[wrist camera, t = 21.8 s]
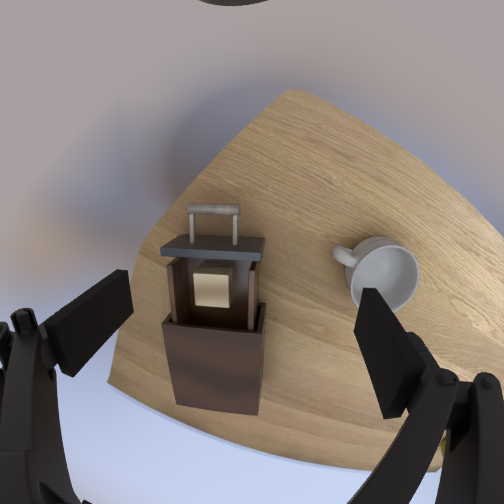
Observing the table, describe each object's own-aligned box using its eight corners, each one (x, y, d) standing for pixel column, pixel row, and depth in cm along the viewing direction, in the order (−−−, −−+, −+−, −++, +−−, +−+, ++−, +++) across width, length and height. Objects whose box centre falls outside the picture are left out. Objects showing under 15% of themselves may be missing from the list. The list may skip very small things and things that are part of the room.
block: (202, 262, 43) (193, 273, 38) (234, 263, 42) (228, 275, 38) (204, 291, 44) (195, 305, 39) (234, 293, 44) (229, 308, 39)
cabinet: (182, 296, 47) (161, 323, 38) (266, 303, 46) (262, 334, 37) (190, 372, 52) (176, 404, 43) (262, 380, 51) (257, 415, 42)
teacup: (411, 258, 41) (433, 275, 33) (370, 306, 44) (384, 330, 36) (354, 205, 40) (370, 212, 32) (311, 258, 43) (317, 277, 35)
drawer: (179, 200, 42) (158, 206, 34) (266, 201, 40) (262, 207, 33) (186, 325, 48) (171, 349, 40) (261, 332, 46) (257, 359, 39)
